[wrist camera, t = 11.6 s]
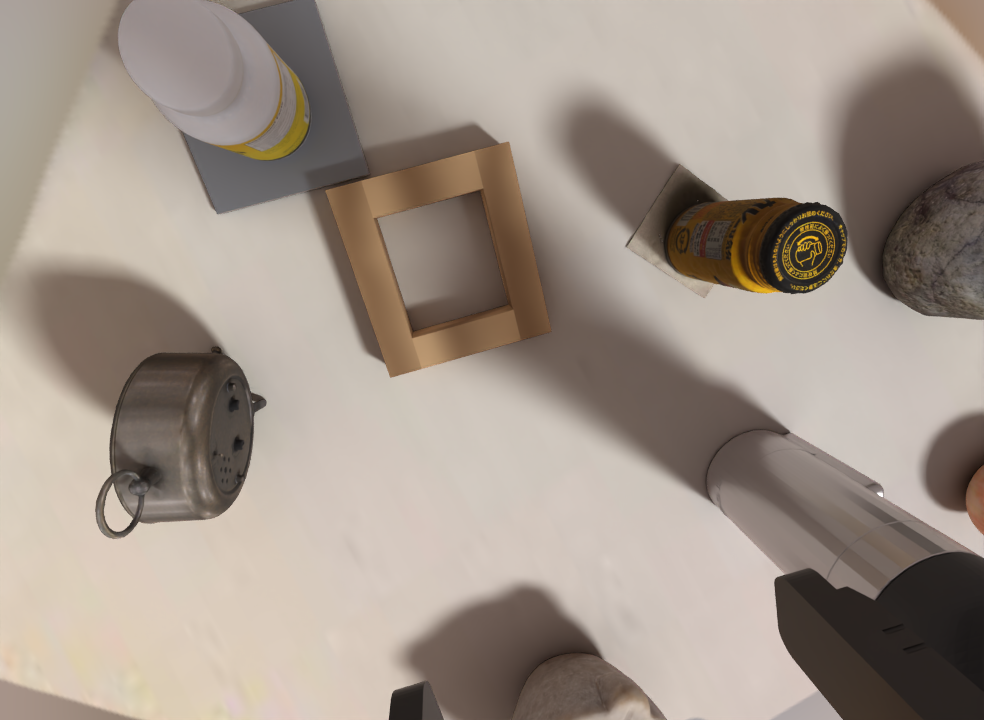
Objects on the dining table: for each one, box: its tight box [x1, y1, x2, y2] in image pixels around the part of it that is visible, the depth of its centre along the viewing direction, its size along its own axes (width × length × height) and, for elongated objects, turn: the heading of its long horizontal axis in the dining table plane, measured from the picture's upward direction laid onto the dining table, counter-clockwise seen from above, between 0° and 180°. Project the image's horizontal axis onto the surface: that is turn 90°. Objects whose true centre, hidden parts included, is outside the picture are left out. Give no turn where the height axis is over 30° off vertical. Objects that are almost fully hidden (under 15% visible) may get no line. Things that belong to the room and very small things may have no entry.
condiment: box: [627, 164, 847, 298], centre depth 32 cm, size 7×8×12 cm
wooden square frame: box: [325, 142, 552, 378], centre depth 35 cm, size 13×14×2 cm
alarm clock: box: [95, 347, 266, 539], centre depth 30 cm, size 11×5×16 cm, turn 176°
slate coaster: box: [182, 0, 370, 214], centre depth 32 cm, size 11×11×1 cm
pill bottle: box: [118, 0, 312, 161], centre depth 26 cm, size 6×6×12 cm
